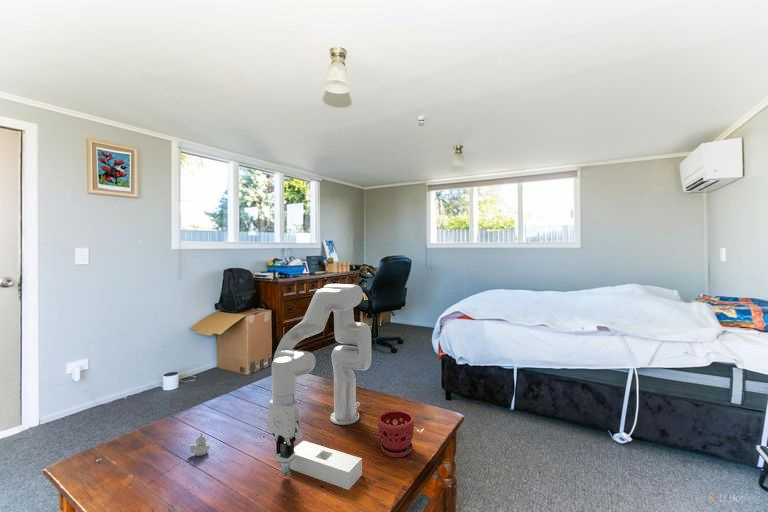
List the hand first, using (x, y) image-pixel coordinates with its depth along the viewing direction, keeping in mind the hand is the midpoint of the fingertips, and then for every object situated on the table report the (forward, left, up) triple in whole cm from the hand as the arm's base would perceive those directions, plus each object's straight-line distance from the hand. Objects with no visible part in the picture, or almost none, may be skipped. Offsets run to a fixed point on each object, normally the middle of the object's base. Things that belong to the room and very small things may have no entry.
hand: (285, 452), depth 110 cm
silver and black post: (0, 0, -7) cm, 7 cm away
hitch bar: (-8, +9, -8) cm, 15 cm away
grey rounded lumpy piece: (+4, -37, -8) cm, 38 cm away
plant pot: (-30, +25, -8) cm, 40 cm away
